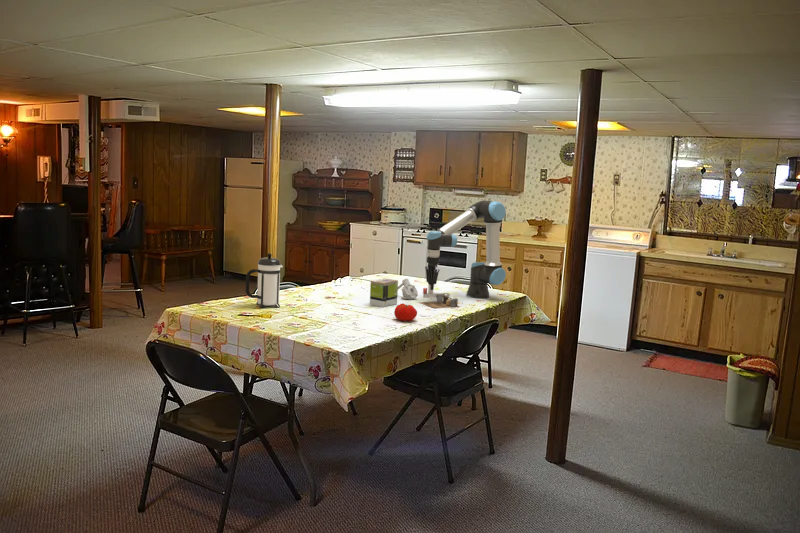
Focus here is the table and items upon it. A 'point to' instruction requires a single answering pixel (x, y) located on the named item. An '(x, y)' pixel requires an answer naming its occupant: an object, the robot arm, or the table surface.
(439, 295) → the lever
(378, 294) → the tea box
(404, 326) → the table surface
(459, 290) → the table surface
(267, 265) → the coffee press
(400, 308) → the tomato
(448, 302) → the walnut
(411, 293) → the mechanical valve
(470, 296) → the robot arm
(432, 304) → the board
